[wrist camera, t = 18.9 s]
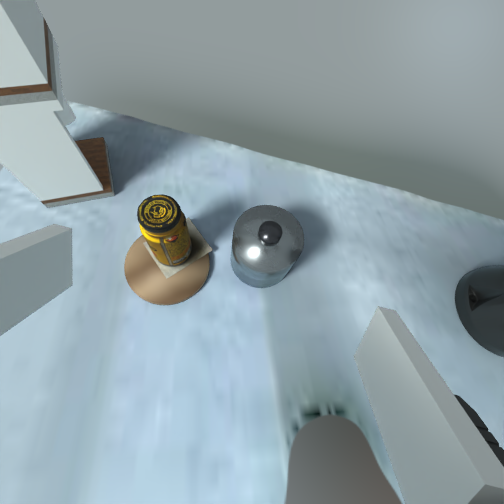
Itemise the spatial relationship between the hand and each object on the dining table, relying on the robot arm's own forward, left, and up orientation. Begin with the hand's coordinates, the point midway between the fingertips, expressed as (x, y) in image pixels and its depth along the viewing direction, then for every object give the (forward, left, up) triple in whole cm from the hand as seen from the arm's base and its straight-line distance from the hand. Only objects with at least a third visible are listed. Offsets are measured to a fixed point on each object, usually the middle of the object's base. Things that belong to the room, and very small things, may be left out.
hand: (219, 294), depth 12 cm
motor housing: (+9, -13, -32) cm, 36 cm away
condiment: (+17, -2, -31) cm, 36 cm away
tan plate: (+15, +1, -32) cm, 36 cm away
